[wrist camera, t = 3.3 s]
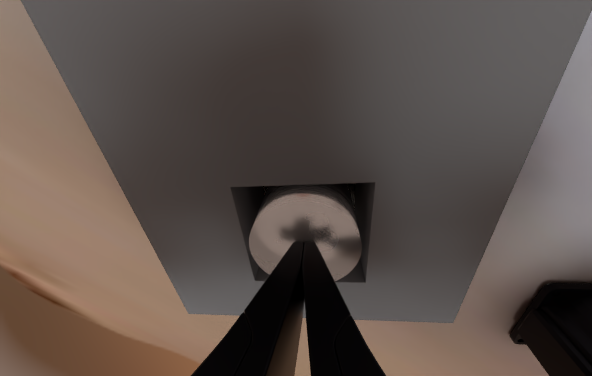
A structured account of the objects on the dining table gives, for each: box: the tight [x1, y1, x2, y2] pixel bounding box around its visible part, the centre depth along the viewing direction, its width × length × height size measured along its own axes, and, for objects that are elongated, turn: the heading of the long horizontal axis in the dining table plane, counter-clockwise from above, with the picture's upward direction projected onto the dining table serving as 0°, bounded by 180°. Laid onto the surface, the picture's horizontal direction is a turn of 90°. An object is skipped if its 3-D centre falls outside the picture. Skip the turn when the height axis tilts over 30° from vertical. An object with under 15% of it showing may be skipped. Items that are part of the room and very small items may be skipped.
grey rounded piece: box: [249, 183, 362, 281], centre depth 11 cm, size 4×4×4 cm
